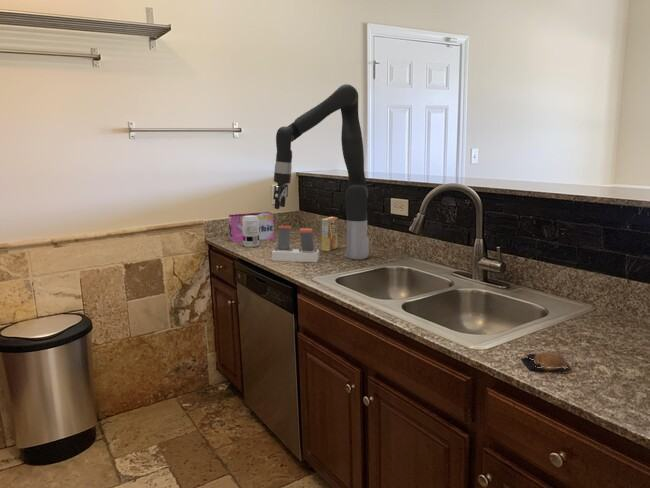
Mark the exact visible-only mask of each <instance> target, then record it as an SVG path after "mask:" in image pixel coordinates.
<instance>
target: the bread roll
mask: <svg viewBox="0 0 650 488" xmlns="http://www.w3.org/2000/svg"><path fill="white" fill-rule="evenodd" d="M527 357H528V358H527ZM529 358H531V359H534V360H535V362H536V363H535V362H534V360H531V359H529ZM520 360H521V363H523V365H524V366H525V368H526V369H527V370H529V371H530V372H535V373H539V374H567V373H575V372H576V369H574V368H573V367H572V366H571V365H570V364H569V363H568V362H567V361H566V360H565V358H564V357H562V356H561V355H560V354H558V353H554V352H541V353H538V354H537V353H536V354H535V353H529V354H527V356H526V357H523V358H521V359H520ZM567 364H568V365H567ZM566 365H567V367H568V368H566V369H564V368H545V367H562V366H566ZM535 366H536V367H535ZM541 366H544V367H542V368H537V367H541Z"/></svg>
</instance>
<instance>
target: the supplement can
mask: <svg viewBox="0 0 650 488" xmlns="http://www.w3.org/2000/svg"><path fill="white" fill-rule="evenodd" d="M242 232H243V241H242V246H243V247H246V248H256V247H258V246H259V245H260V240H259V219H258V217H257V216H256V215H246V216H243V218H242Z"/></svg>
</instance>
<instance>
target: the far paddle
mask: <svg viewBox="0 0 650 488" xmlns="http://www.w3.org/2000/svg"><path fill="white" fill-rule="evenodd" d="M291 229H292V227H291V225H278V237H277V239H278V240H277V246H278V250H289V247H290V246H291V245H290V243H291Z"/></svg>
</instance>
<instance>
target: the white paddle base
mask: <svg viewBox="0 0 650 488" xmlns="http://www.w3.org/2000/svg"><path fill="white" fill-rule="evenodd" d="M319 260H320V249H318V247H317V246H314V251H302V246H298V248H293V246H292V245H290V246H289V250H278V245H275V246H274V249H273V250H272V251H271V261H273V262H300V263H301V262H302V263H318V261H319Z"/></svg>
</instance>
